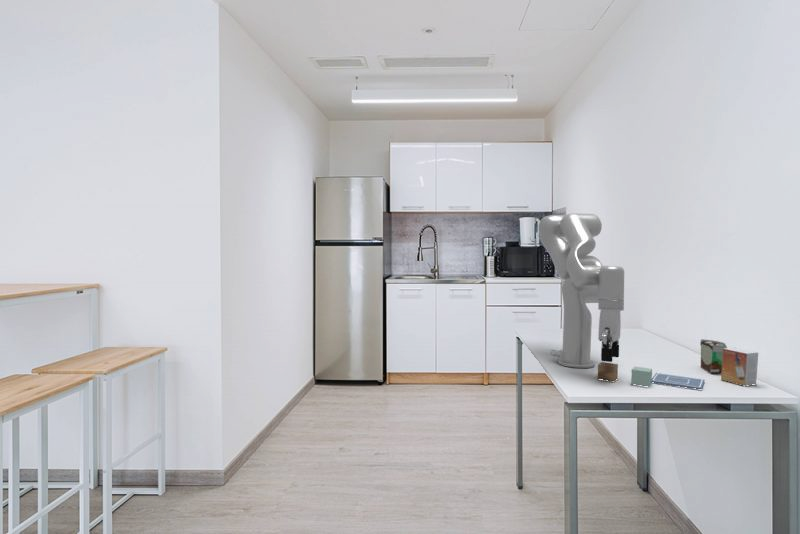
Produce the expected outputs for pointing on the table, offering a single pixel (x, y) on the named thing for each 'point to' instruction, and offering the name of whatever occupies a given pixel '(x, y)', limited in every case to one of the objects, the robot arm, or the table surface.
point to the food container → (712, 356)
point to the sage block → (641, 376)
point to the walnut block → (607, 371)
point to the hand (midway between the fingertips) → (610, 359)
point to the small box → (739, 366)
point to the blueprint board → (678, 381)
